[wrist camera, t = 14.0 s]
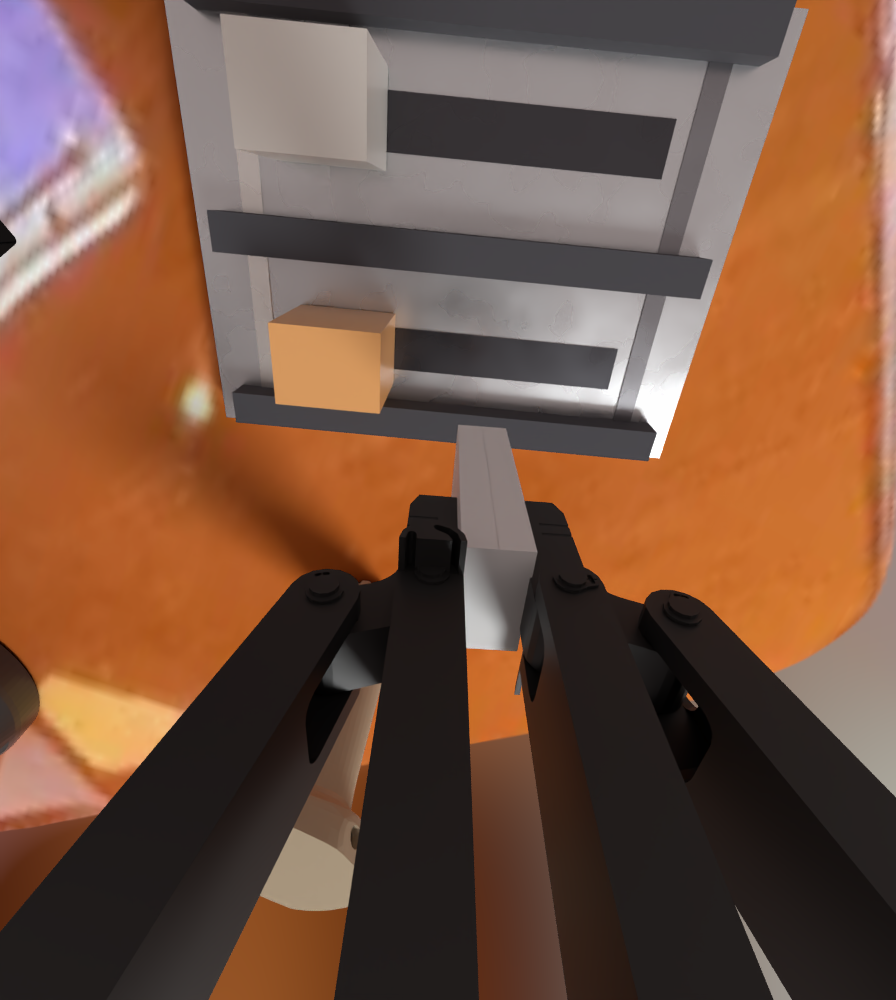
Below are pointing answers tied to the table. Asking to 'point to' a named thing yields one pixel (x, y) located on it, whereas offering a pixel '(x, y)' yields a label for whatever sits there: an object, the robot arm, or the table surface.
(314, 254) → the slotted rail tray
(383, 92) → the toggle
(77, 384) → the table surface
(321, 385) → the toggle
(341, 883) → the handle
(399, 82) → the panel
